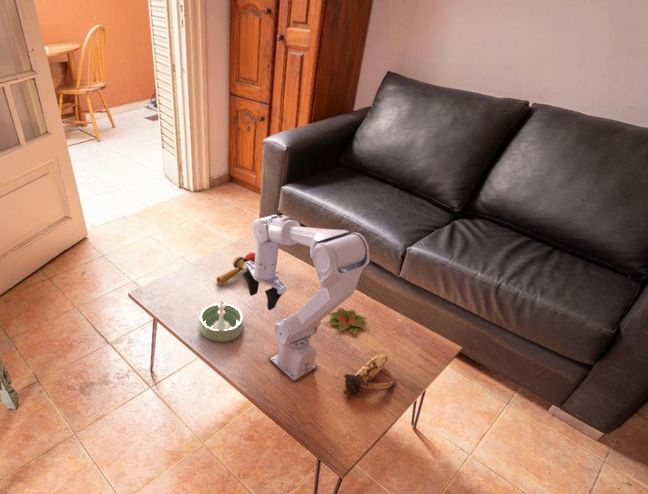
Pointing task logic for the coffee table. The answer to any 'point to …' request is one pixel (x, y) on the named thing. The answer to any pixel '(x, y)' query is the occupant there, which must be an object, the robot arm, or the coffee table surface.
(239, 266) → the kendama
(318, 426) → the coffee table surface
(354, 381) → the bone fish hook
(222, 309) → the chess piece
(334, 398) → the coffee table surface
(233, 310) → the bowl
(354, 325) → the succulent plant
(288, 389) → the coffee table surface
